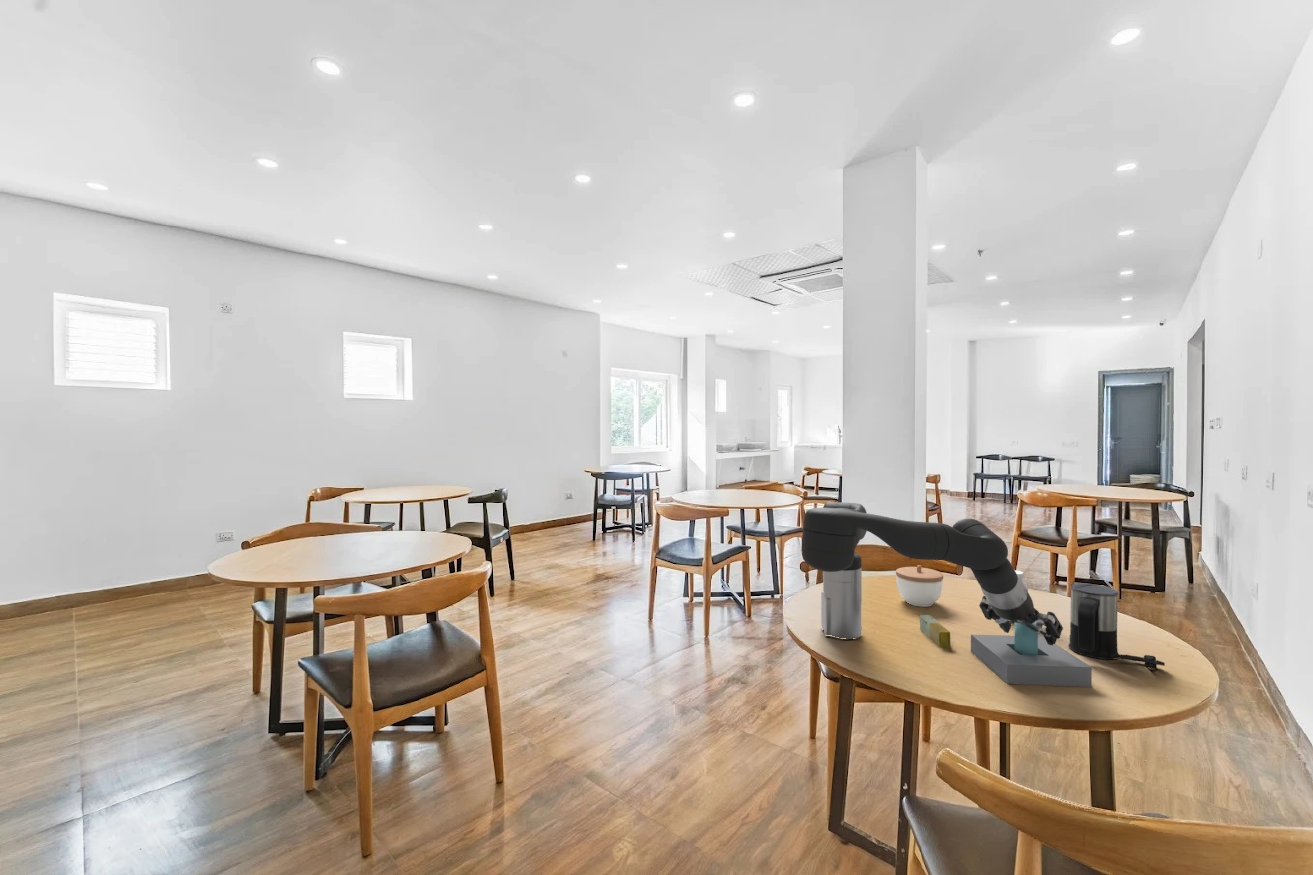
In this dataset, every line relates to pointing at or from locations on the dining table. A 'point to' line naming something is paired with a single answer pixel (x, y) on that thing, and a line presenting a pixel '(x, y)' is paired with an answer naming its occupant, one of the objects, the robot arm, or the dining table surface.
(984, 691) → the dining table surface
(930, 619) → the medication box
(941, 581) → the lidded bowl
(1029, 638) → the peg
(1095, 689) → the dining table surface
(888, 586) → the dining table surface
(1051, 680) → the socket block
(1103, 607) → the milk frother
